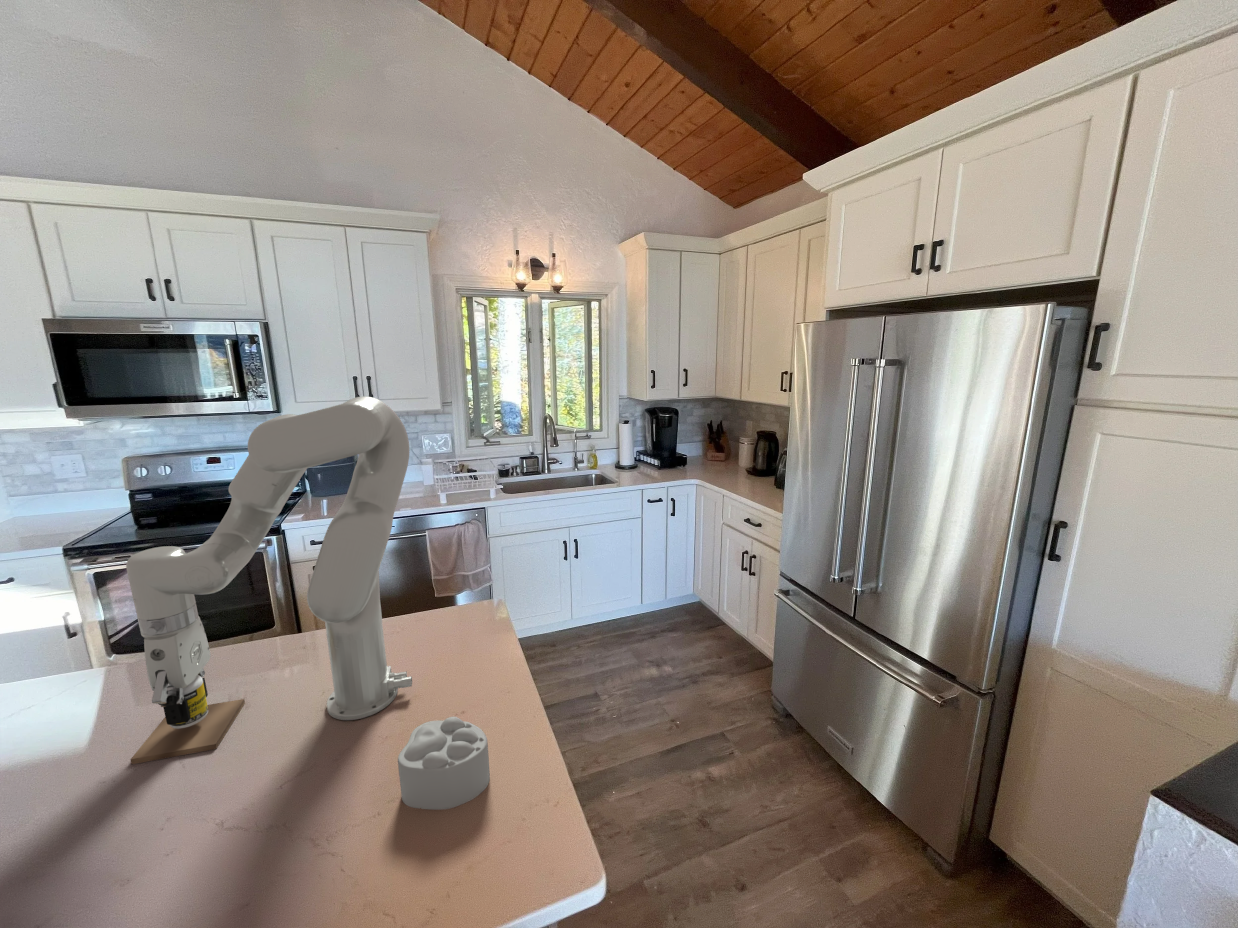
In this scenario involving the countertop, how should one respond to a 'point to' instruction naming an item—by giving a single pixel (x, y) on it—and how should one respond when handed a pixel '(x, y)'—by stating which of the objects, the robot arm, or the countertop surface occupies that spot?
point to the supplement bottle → (193, 702)
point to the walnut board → (190, 734)
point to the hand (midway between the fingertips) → (188, 709)
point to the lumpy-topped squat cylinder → (444, 764)
